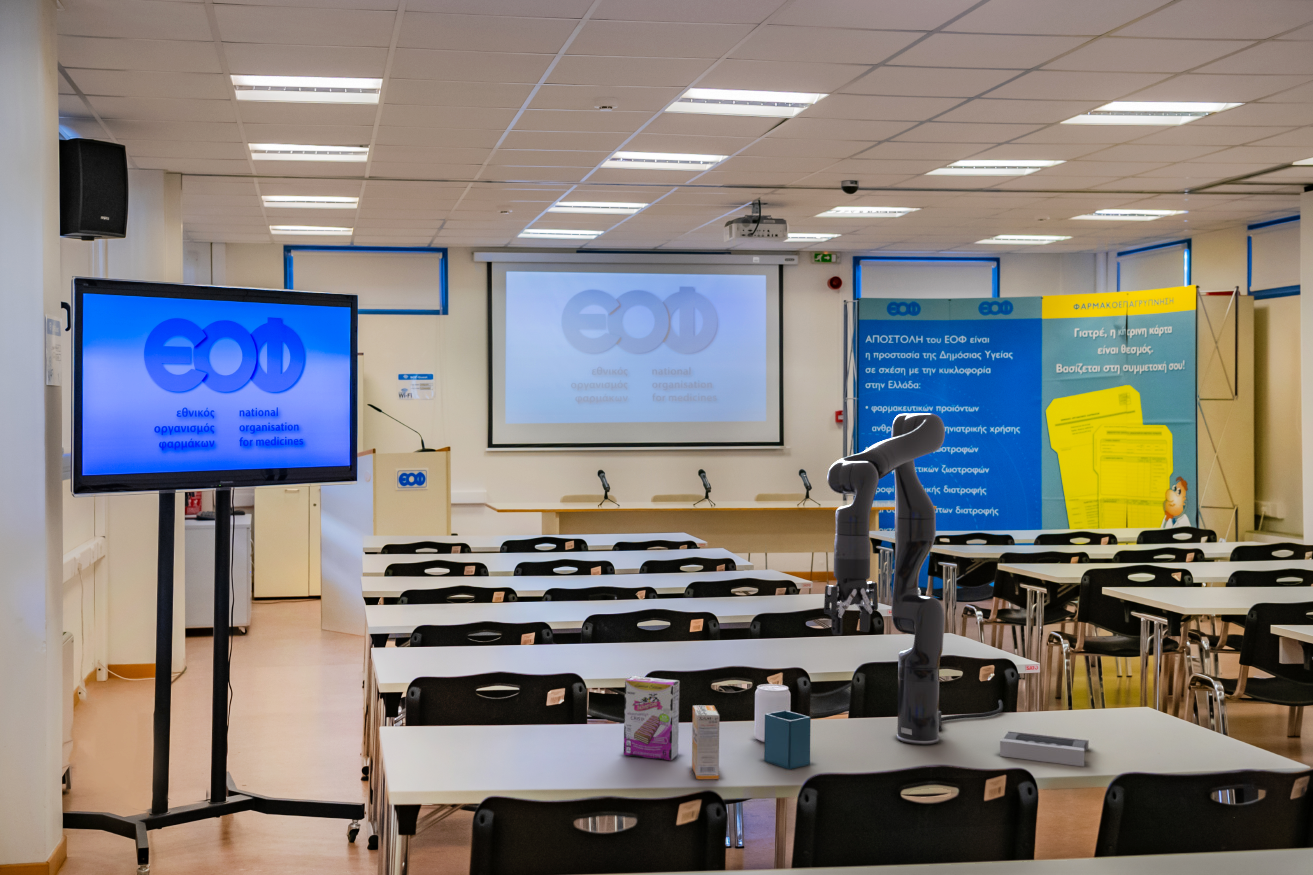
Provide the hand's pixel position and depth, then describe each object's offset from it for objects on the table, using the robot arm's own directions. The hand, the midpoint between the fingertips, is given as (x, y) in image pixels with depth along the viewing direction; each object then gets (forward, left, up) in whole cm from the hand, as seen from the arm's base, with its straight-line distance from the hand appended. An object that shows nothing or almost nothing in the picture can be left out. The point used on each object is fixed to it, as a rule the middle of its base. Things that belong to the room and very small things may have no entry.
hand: (851, 633), depth 230 cm
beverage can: (-11, -23, -28) cm, 38 cm away
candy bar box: (+16, -39, -28) cm, 51 cm away
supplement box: (+21, -23, -28) cm, 42 cm away
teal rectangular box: (+3, -16, -23) cm, 28 cm away
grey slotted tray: (-36, +32, -28) cm, 56 cm away
